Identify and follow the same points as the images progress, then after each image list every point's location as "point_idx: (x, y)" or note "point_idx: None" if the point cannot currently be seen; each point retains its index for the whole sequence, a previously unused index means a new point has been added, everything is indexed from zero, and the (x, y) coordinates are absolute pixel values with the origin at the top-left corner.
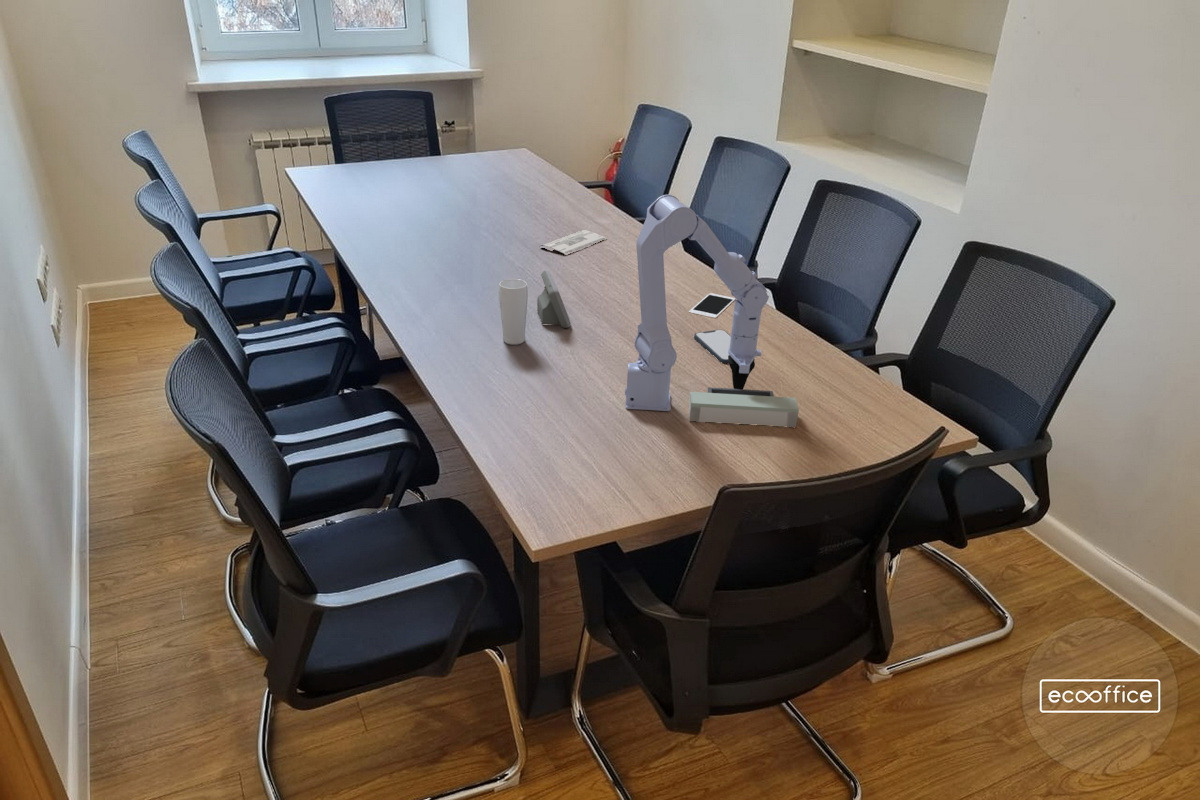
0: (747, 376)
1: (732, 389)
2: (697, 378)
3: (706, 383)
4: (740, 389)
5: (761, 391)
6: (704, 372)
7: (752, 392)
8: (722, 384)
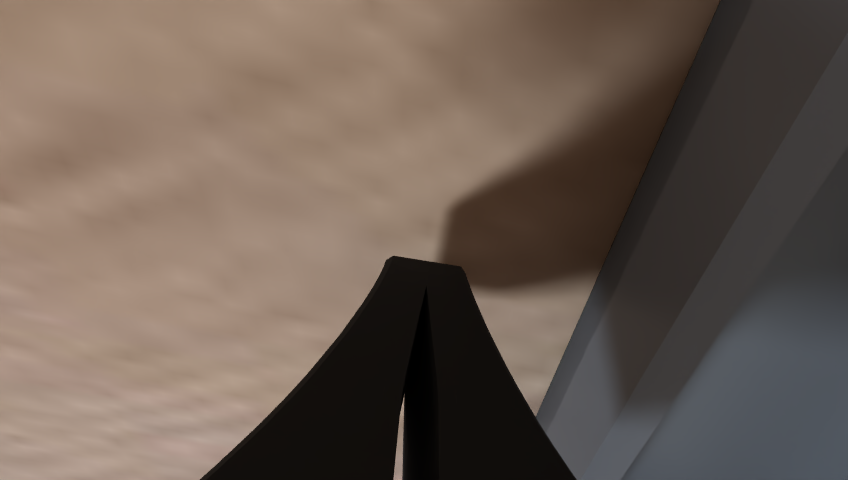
0: (550, 448)
1: (612, 462)
2: (194, 468)
3: None
4: (640, 399)
5: (839, 136)
6: (69, 417)
7: (745, 264)
8: (262, 351)
